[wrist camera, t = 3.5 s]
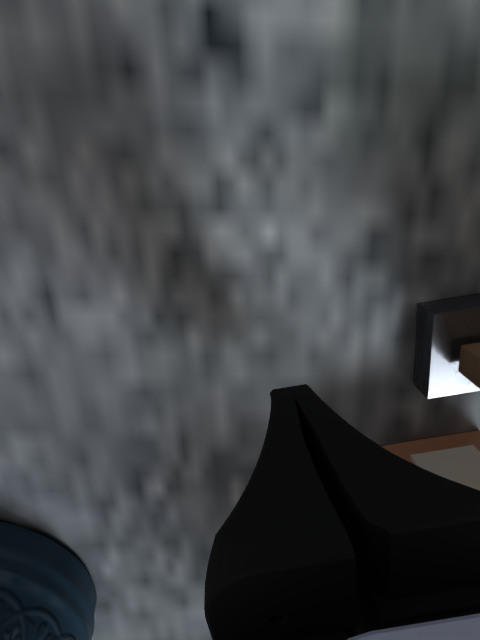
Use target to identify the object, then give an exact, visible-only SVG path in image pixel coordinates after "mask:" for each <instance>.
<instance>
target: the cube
mask: <svg viewBox="0 0 480 640" xmlns="http://www.w3.org/2000/svg"><path fill="white" fill-rule="evenodd" d="M381 447H383V448H384V449H386V450H388V451H390V452H391V453H393V454H395V455H397V456H399V457H401V458H403V459H405V460H406V461H408V462H410V463H412V464H415V465H417V466H419V467H421V468H423V469H425V470H428V471H430V472H432V473H435V474H437V475H439V476H441V477H444V478H447V479H449V480H452V481H455V482H458V483H460V484H463V485H466V486H468V487H471V488H474V489H477V490H479V491H480V431H479V430H477V431H471V432H465V433H458V434H452V435H446V436H440V437H433V438H427V439H421V440H415V441H409V442H402V443H396V444H390V445H384V446H381Z"/></svg>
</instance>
